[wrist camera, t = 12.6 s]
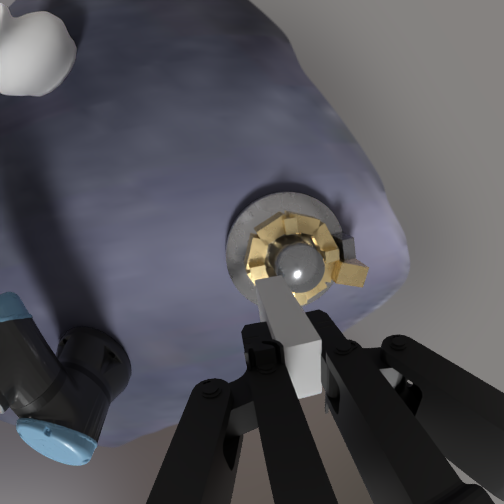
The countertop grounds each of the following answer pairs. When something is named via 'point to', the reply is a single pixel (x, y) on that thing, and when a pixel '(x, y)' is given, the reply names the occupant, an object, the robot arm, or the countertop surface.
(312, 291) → the gold crown ring
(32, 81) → the vase
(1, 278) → the countertop surface
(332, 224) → the flange
